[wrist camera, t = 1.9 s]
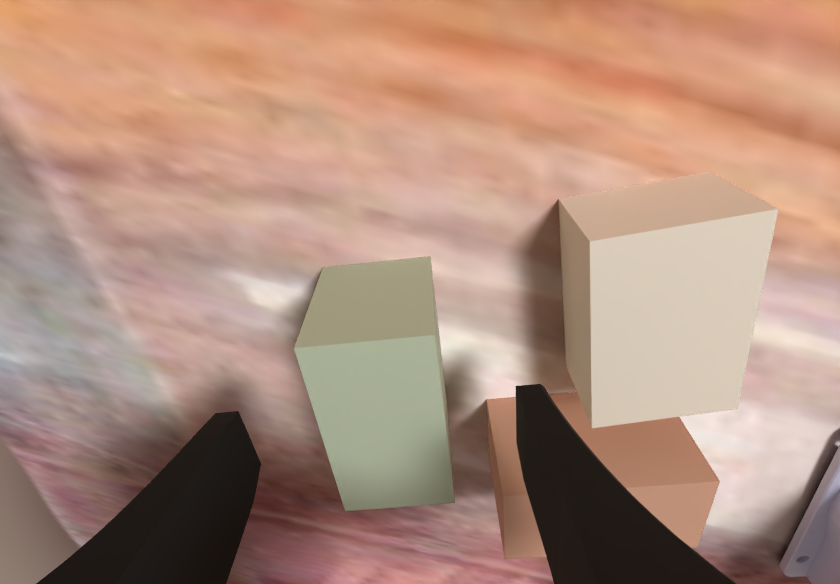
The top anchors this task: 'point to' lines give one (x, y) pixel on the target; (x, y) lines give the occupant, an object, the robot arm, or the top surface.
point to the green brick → (379, 383)
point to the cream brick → (662, 295)
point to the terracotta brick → (622, 455)
